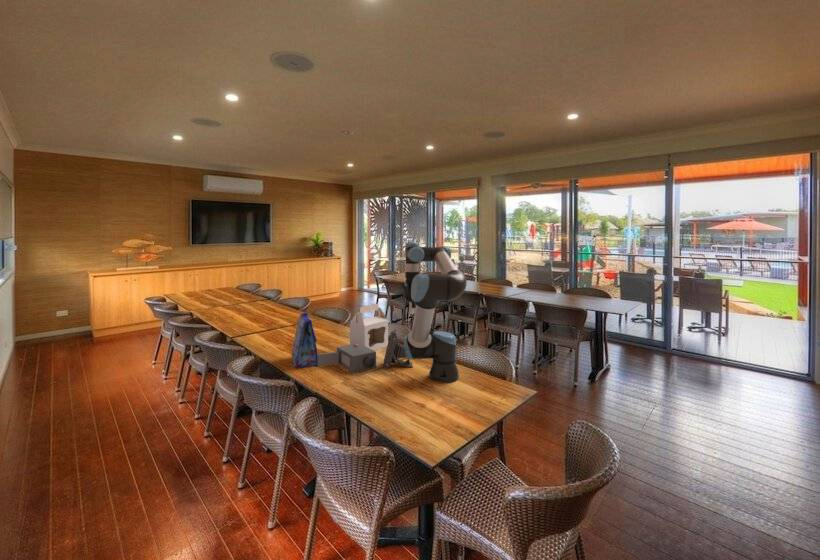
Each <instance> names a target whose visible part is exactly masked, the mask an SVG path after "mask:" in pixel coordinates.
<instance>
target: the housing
mask: <svg viewBox="0 0 820 560" xmlns="http://www.w3.org/2000/svg"><path fill="white" fill-rule="evenodd" d="M338 351H340V360H341V363H340V364H339V365H341V366H342V367H343V368H345V369H347V370H348V371H350V372H351V373H357V372H358V373H359V372H363V371H366V370H367V371H368V370H371V369H375V368H377V351H376V350H372V349H370V348H368V347H366V346H364V345H361V344H359V343H357V344H352V345H350V344H347V345H341V346H337V347H336V352H338Z"/></svg>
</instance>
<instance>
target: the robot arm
mask: <svg viewBox="0 0 820 560" xmlns="http://www.w3.org/2000/svg"><path fill="white" fill-rule="evenodd" d="M404 252H405V255H404V257H405V258H404V260H405V264H404V266H405V267H404V268H405V269H404V270H405V273H404V275H405V276H404V277H405V281H404V282H402V283H401V284H402V286H403V290H404V291H403V292H404V297H405V301H408V310H409V315H413V314H414V316H413V322H412V327H411V330H410V332H409V333H408V334H407V335H406V336H405V335H404V337H403V345H404V346H405V354H406V358H405V359H406V360H407V359H409V360H424V359H425V360H427V359H432V364H431V367H430V370H429V373H428V377H429V379H430V380H432V381H433V382H437V383H453V382H456V381H458V380H459V379H460V377H459V376H460V373H459V370H458V367H457V362H456V360H457V355H456V353H457V337H456V336H455V335H454V334H453V333H451V332H448V331H441V330H440V331H439V330H435V331H433V333H432V335H431V334H430V332H431V328H432V323H433V319H434V314H435V309H436V308H437V307H438V306H439V305H440V302H451V301H454V300H456V299H458V298H460V297H461V296H462V295H463V294H464V293H465V290H466V289H467V284H468V283H467V277H466V276H465V274H464V273H463V272H462V271H461V270H459V269H458V268H457V266H456V264H455V263H454V261H453V260H452V259H451V258H452V251H451V248H450V247H446V246H420V243H418V242H407V243H405V248H404ZM420 262H422V263H423V262H434V263H435V264H436V266H437V268H438V270H439V271H440V273H437V274H436V273H435V274H434V273H431V274H430V273H429V274H428V273H423V274H422V273H421V274H420V272H419V270H420Z"/></svg>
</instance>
